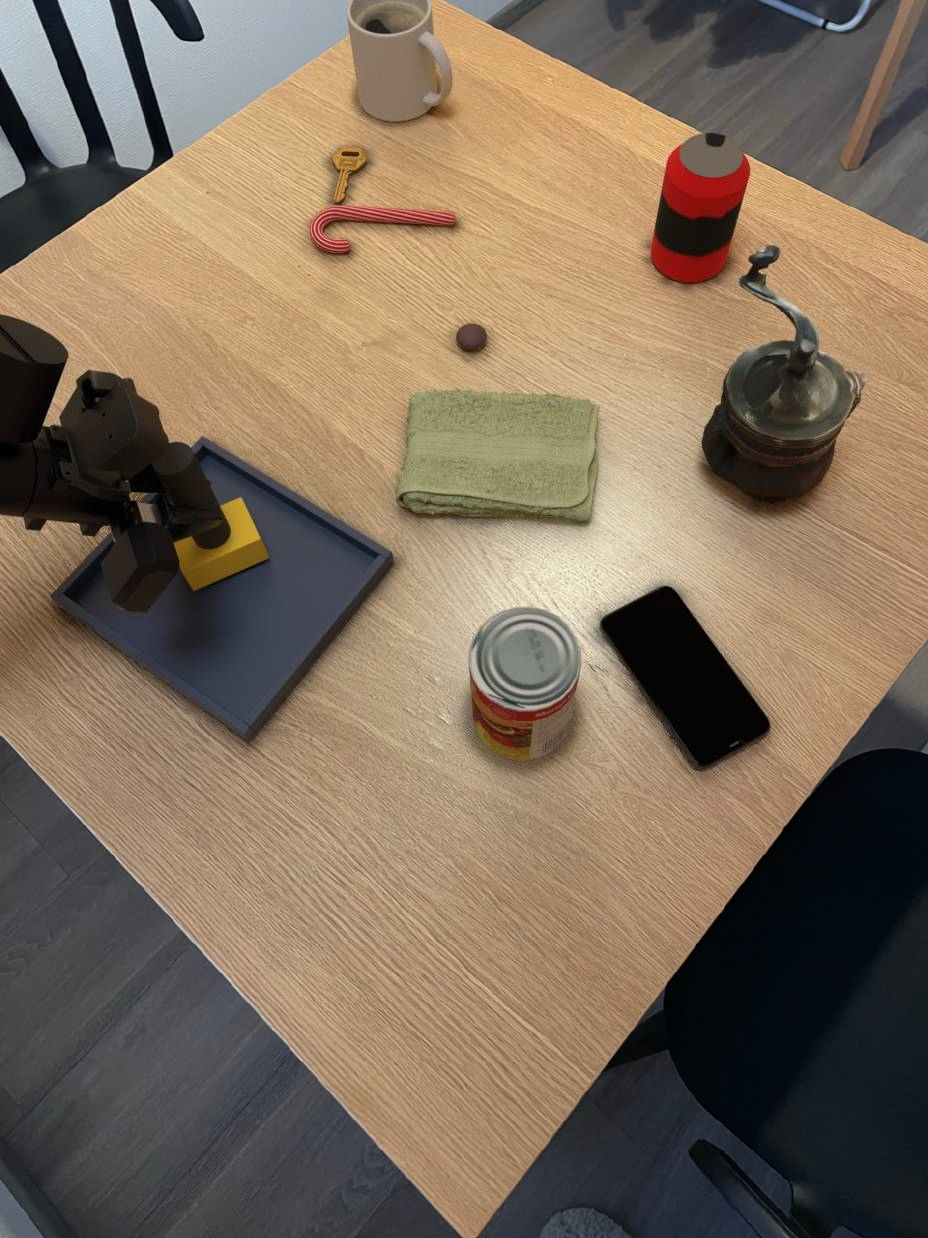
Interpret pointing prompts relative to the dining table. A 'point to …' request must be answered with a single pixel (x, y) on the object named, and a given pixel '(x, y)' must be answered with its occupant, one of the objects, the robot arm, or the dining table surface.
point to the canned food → (523, 681)
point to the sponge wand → (216, 547)
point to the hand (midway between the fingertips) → (214, 503)
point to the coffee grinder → (779, 406)
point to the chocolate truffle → (471, 336)
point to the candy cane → (370, 215)
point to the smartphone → (684, 677)
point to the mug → (397, 58)
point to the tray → (241, 601)
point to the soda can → (699, 207)
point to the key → (347, 168)
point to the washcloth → (499, 455)
